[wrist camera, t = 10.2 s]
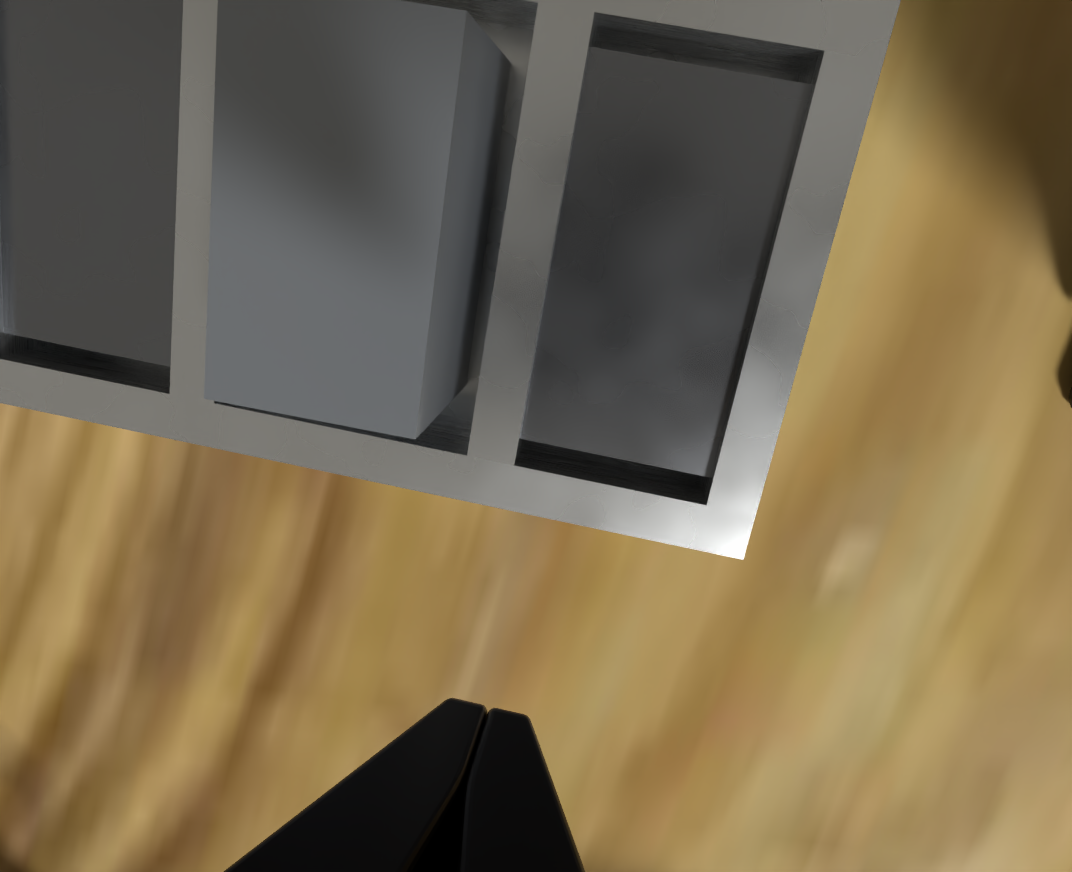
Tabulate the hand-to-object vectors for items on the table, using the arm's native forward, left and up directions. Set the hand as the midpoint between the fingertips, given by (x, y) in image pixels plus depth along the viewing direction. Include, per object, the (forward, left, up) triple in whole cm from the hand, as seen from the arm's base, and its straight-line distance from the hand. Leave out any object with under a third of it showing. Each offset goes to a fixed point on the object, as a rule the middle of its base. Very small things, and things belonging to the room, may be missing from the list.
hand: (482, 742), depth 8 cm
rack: (+5, -4, -12) cm, 14 cm away
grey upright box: (+5, -4, -11) cm, 13 cm away
